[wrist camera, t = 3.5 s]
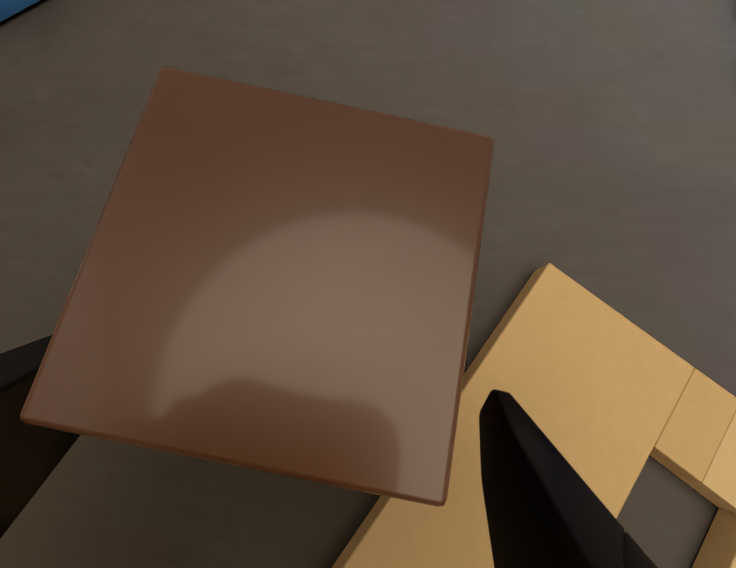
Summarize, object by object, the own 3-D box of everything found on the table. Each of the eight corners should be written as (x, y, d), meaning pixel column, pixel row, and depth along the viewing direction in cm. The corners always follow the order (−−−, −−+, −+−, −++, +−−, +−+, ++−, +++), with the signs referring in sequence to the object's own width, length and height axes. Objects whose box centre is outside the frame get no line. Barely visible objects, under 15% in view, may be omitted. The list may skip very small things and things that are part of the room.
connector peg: (364, 395, 18) (448, 512, 3) (284, 379, 18) (11, 423, 3) (379, 316, 19) (497, 134, 4) (304, 300, 19) (159, 62, 4)
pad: (505, 811, 15) (523, 860, 13) (294, 619, 16) (289, 645, 14) (710, 398, 19) (741, 400, 17) (534, 269, 20) (549, 262, 18)
